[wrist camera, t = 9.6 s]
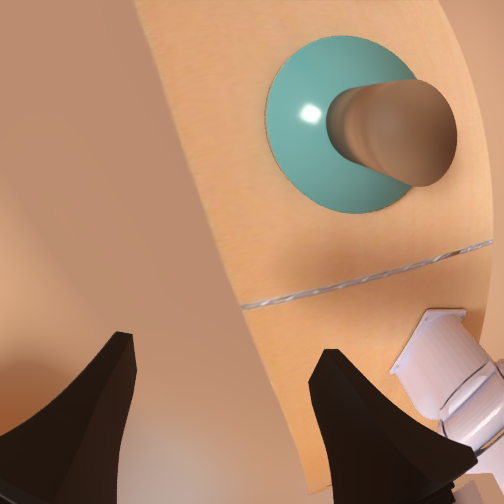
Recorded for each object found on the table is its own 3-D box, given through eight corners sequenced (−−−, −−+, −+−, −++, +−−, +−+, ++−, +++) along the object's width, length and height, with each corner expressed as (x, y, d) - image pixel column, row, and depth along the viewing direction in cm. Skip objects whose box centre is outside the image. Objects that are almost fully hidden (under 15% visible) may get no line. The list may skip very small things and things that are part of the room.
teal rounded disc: (399, 221, 20) (407, 227, 19) (248, 191, 18) (249, 195, 17) (431, 80, 15) (441, 79, 14) (283, 18, 13) (287, 11, 12)
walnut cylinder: (383, 173, 17) (441, 198, 11) (317, 151, 16) (363, 168, 10) (401, 105, 15) (464, 108, 9) (335, 76, 14) (389, 60, 8)
